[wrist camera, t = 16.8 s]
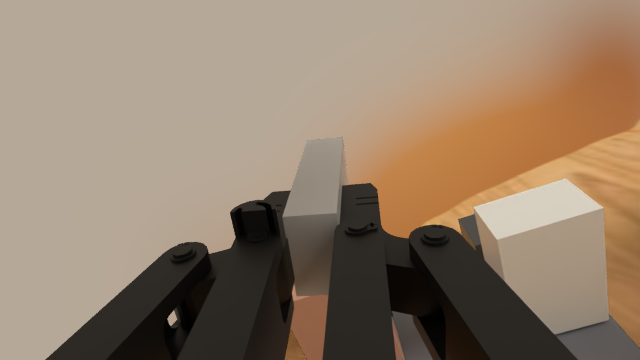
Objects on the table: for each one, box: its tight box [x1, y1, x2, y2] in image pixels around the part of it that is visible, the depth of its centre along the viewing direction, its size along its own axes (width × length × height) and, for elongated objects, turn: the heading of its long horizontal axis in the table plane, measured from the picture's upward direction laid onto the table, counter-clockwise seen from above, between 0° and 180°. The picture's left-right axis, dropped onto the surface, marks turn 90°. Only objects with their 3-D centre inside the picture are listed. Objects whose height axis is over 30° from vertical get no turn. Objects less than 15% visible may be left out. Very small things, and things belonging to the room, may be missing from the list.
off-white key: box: [473, 178, 609, 335], centre depth 37 cm, size 5×8×12 cm, turn 92°
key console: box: [391, 214, 640, 360], centre depth 40 cm, size 18×27×7 cm
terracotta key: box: [291, 285, 405, 360], centre depth 39 cm, size 5×8×12 cm, turn 93°
